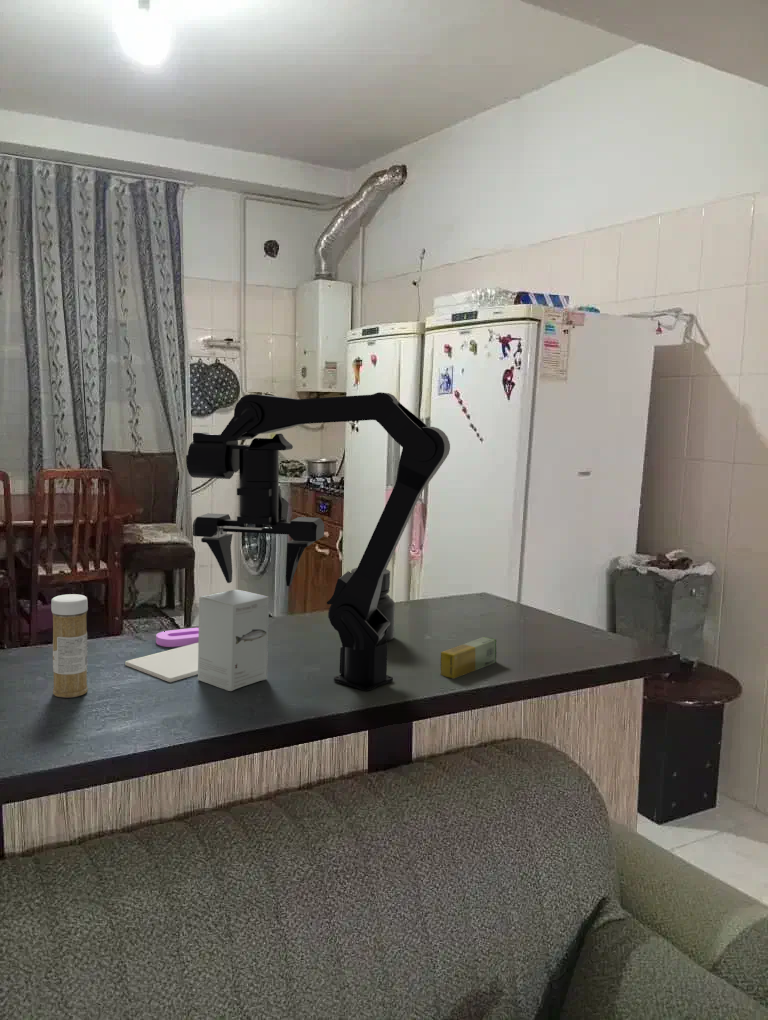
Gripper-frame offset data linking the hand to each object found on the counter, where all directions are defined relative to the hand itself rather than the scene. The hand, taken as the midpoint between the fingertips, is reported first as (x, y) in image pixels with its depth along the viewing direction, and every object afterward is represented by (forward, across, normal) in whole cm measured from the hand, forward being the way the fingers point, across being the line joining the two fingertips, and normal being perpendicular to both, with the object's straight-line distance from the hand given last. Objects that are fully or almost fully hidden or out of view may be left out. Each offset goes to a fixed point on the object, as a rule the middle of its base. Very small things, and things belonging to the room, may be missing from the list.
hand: (258, 584), depth 122 cm
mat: (+13, +12, 0) cm, 18 cm away
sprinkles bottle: (+13, +22, +16) cm, 30 cm away
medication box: (+14, -31, -10) cm, 36 cm away
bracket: (+14, +15, -13) cm, 24 cm away
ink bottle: (+14, -13, -22) cm, 29 cm away
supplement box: (+14, +2, +5) cm, 15 cm away
